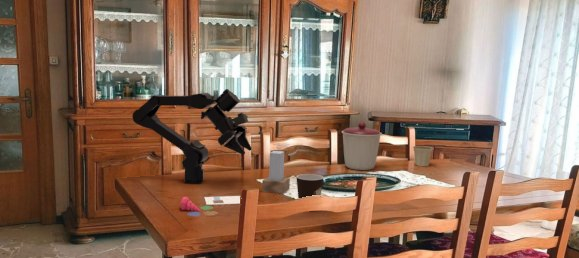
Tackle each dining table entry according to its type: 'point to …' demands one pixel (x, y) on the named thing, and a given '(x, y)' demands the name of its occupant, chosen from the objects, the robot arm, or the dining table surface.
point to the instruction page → (222, 200)
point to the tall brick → (276, 166)
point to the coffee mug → (309, 185)
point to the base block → (276, 185)
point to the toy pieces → (194, 207)
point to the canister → (360, 147)
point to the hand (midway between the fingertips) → (247, 151)
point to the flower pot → (422, 155)
